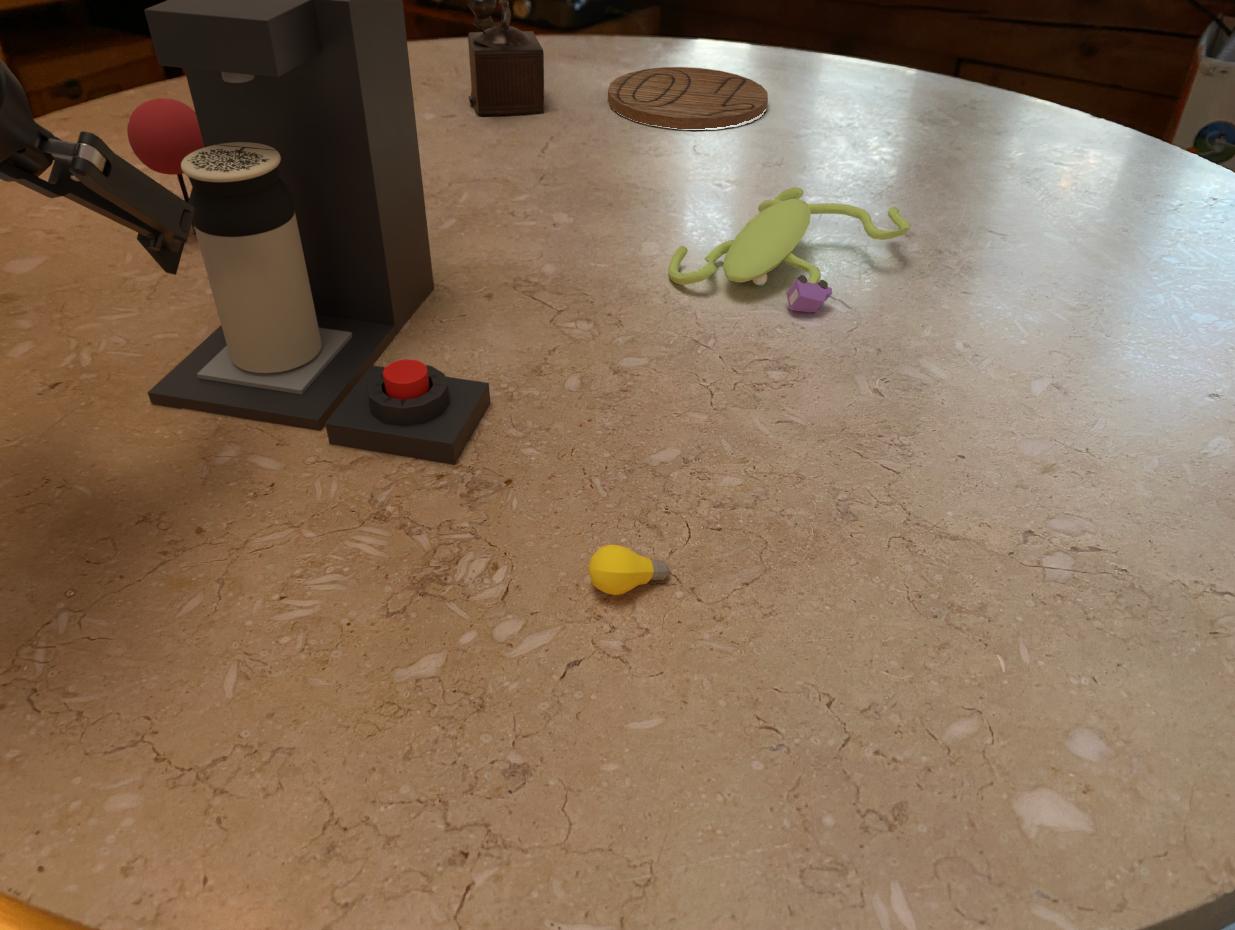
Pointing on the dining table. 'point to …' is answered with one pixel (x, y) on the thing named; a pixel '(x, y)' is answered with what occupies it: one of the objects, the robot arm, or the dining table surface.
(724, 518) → the dining table surface
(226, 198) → the travel mug
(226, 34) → the coffee maker
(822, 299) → the figurine
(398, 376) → the button
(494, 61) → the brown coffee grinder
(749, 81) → the trivet
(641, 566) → the light bulb
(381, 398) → the panel
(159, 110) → the lollipop
